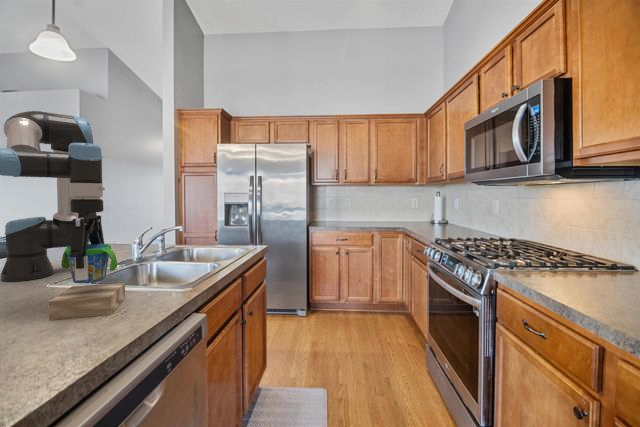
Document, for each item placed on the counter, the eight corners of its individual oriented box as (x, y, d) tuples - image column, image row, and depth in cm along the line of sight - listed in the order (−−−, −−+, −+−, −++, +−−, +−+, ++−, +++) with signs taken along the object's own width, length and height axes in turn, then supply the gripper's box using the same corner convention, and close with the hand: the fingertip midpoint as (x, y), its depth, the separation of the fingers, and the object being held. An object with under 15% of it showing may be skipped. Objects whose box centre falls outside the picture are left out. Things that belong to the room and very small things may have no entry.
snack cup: (127, 277, 93) (126, 244, 92) (96, 288, 83) (94, 250, 82) (85, 274, 96) (84, 242, 96) (49, 284, 86) (47, 248, 85)
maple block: (72, 302, 94) (72, 286, 94) (125, 298, 99) (124, 282, 98) (49, 320, 81) (48, 301, 81) (111, 314, 86) (110, 296, 85)
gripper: (86, 199, 78) (89, 284, 80) (114, 198, 100) (116, 265, 101) (50, 199, 76) (54, 287, 77) (87, 197, 98) (89, 266, 99)
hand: (89, 274), depth 89 cm, fingers closed on snack cup, 10 cm apart
